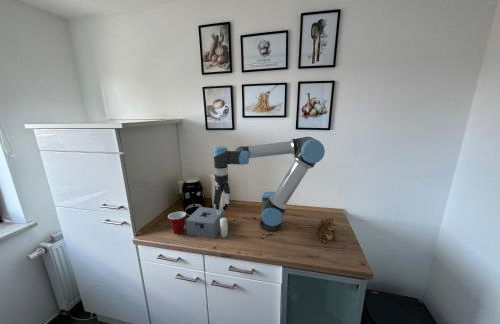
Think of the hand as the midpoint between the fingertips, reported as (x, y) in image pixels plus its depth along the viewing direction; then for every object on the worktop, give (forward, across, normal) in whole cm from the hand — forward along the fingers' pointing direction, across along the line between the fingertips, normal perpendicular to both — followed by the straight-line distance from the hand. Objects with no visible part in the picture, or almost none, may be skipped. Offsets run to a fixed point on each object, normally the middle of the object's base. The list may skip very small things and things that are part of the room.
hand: (222, 208), depth 118 cm
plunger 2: (+12, -11, -14) cm, 22 cm away
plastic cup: (+18, +2, -30) cm, 35 cm away
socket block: (+18, -5, -14) cm, 23 cm away
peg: (+18, 0, 0) cm, 18 cm away
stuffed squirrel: (+18, -13, +60) cm, 64 cm away
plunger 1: (+12, +1, -14) cm, 18 cm away
